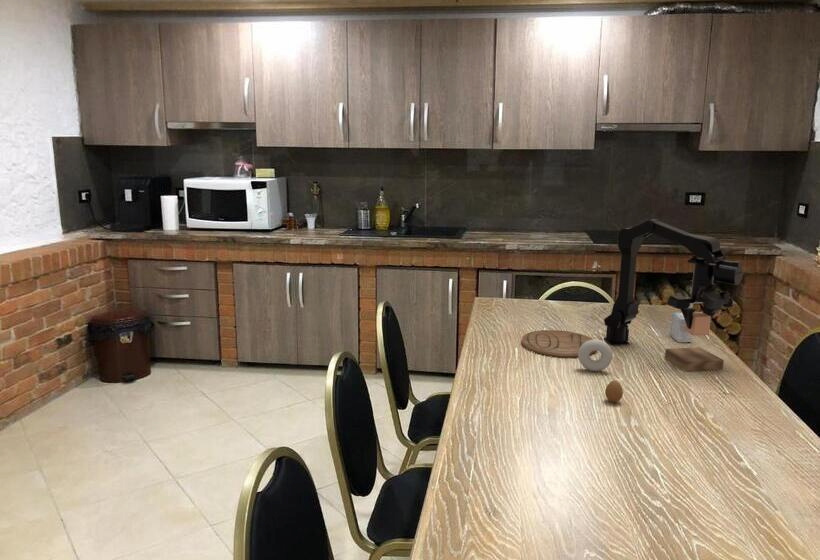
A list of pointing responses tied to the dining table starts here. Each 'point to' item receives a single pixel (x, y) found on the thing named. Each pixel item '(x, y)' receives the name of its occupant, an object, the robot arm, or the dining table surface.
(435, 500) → the dining table surface
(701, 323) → the terracotta block
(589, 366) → the donut
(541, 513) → the dining table surface
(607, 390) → the egg
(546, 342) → the trivet
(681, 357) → the walnut base
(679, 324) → the medicine box
